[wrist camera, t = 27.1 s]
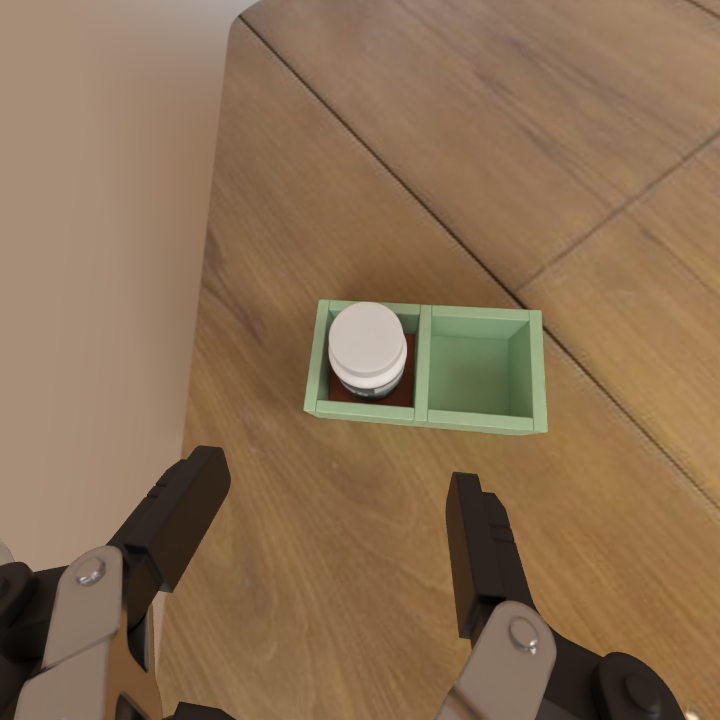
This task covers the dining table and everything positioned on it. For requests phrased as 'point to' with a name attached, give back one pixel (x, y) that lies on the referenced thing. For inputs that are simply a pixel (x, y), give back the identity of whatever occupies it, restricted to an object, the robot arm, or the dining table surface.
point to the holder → (445, 371)
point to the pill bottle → (368, 350)
